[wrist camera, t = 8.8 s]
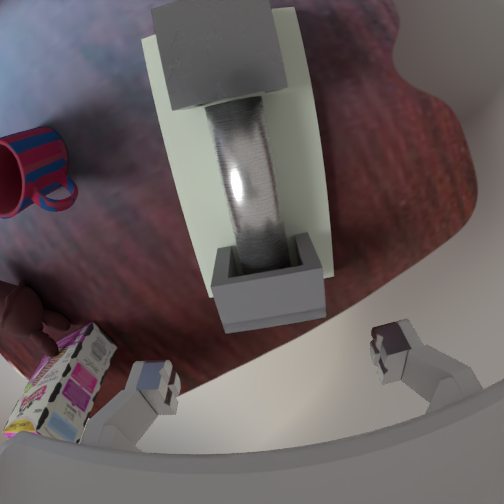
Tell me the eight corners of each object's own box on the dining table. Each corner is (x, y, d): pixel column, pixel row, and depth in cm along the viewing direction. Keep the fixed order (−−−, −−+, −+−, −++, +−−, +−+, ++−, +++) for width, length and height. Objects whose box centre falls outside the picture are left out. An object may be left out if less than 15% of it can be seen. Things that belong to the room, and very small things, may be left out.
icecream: (-38, 306, 24) (50, 370, 30) (-46, 280, 20) (57, 357, 26) (-13, 268, 29) (69, 327, 35) (-14, 238, 25) (80, 307, 31)
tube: (208, 107, 21) (200, 107, 17) (260, 96, 21) (263, 94, 17) (246, 275, 28) (246, 302, 24) (290, 268, 28) (296, 293, 24)
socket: (217, 248, 27) (210, 287, 21) (307, 232, 26) (322, 267, 21) (229, 290, 29) (225, 333, 23) (312, 275, 28) (326, 316, 23)
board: (145, 41, 19) (141, 39, 18) (292, 10, 18) (294, 6, 17) (210, 291, 30) (209, 297, 29) (331, 270, 29) (333, 276, 28)
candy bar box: (91, 317, 32) (34, 431, 17) (119, 346, 34) (77, 460, 19) (48, 342, 34) (0, 433, 20) (72, 366, 36) (32, 457, 22)
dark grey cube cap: (172, 29, 18) (150, 9, 13) (260, 10, 17) (264, -17, 12) (189, 108, 21) (172, 110, 16) (278, 91, 20) (288, 86, 15)
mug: (33, 115, 21) (-14, 125, 15) (105, 165, 24) (66, 186, 18) (12, 172, 23) (-30, 194, 17) (78, 222, 26) (42, 255, 20)
